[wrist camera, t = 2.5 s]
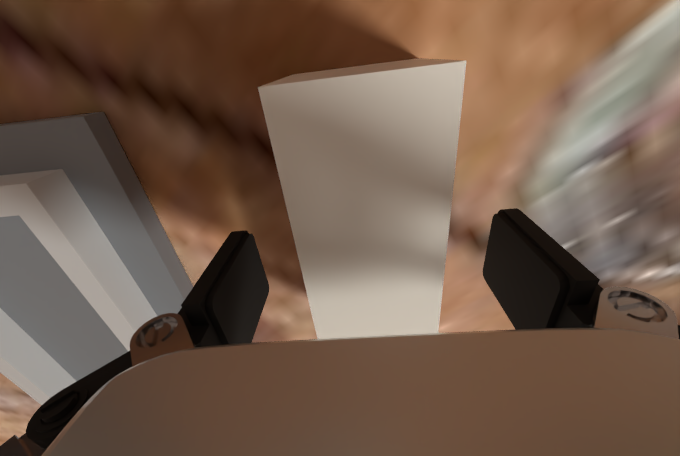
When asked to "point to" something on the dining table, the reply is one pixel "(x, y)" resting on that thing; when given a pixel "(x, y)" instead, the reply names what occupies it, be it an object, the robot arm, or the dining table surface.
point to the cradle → (75, 253)
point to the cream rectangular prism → (369, 189)
